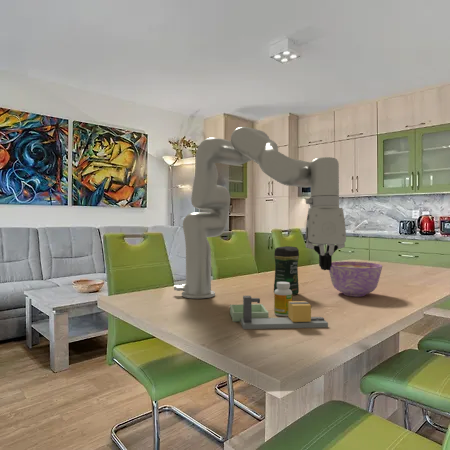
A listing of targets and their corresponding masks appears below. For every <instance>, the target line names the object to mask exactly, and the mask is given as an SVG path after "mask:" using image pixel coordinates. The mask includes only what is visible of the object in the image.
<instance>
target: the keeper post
mask: <svg viewBox="0 0 450 450" xmlns="http://www.w3.org/2000/svg"><path fill="white" fill-rule="evenodd" d="M252 303H256V304H261V298H260V297H252V295H242V304H243V321H244V323H251V322H252Z"/></svg>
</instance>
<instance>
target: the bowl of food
mask: <svg viewBox="0 0 450 450" xmlns="http://www.w3.org/2000/svg"><path fill="white" fill-rule="evenodd" d="M382 269H383V265H382V264H380V263H373V262H367V261H366V262H364V261H332V266H331V267H330V270H328V272H329V277H330V281H331V283H332V286H333V288H334V289H336V290H337V291H339V292H340V293H342V294H343V295H345V296H349V297H364V296H366V295H367V294H370V293H373V292H374V291H375V290H376V288H378V284H379V281H380V279H381V274H382Z"/></svg>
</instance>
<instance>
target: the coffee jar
mask: <svg viewBox="0 0 450 450" xmlns="http://www.w3.org/2000/svg"><path fill="white" fill-rule="evenodd" d="M273 253H274V257H273V258H274V263H275V266H274V267H275V269H274V283H273V293H274V292H275V290H276V289H277V282H289V283H290V288H289V289H290V290H291V291H292V296H295V295H297V294H299V293H300V291H299V288H300V287H299V286H300V285H299V271H298V270H299V268H298V264H299V258H300V254H299V253H300V250H299V248H298V247H296V246H287V245H286V246H278V247H276V248H274V252H273Z"/></svg>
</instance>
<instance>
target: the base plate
mask: <svg viewBox="0 0 450 450" xmlns="http://www.w3.org/2000/svg"><path fill="white" fill-rule="evenodd" d="M240 324H241V327H242V330H256V329H257V330H261V329H263V330H264V329H265V330H266V329H267V330H269V329H270V330H271V329H301V328H303V329H305V328H306V329H308V328H310V329H312V328H313V329H314V328H329V322H328V321H326V320H325V318H324V317H322V316H311V322H292V320H291V319H290V318H289V317H288V316H285V317H268V318H252V322H251V323H244V321H243V318H241V322H240Z"/></svg>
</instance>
